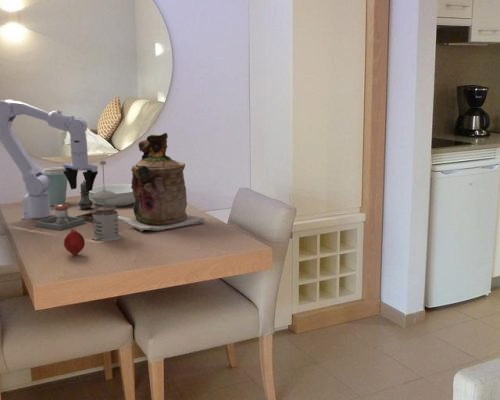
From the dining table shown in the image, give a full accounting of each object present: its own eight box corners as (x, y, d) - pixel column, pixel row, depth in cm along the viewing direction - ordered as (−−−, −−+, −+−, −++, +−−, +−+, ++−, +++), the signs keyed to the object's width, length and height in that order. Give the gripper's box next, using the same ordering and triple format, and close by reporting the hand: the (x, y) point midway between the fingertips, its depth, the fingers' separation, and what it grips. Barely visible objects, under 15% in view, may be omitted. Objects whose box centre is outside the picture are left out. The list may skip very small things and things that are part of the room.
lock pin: (52, 225, 210) (51, 205, 208) (62, 222, 214) (61, 203, 212) (61, 227, 207) (60, 207, 206) (72, 224, 211) (71, 204, 210)
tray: (35, 228, 208) (34, 221, 207) (60, 221, 218) (60, 214, 217) (60, 233, 202) (59, 225, 202) (85, 225, 212) (84, 218, 212)
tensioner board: (67, 221, 218) (67, 210, 218) (93, 213, 230) (92, 203, 229) (95, 225, 212) (94, 214, 211) (120, 217, 224) (119, 207, 223)
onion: (67, 252, 181) (65, 226, 179) (86, 252, 181) (85, 225, 180) (62, 258, 175) (61, 231, 173) (83, 257, 175) (81, 230, 174)
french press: (94, 242, 191) (90, 163, 186) (86, 234, 201) (82, 158, 196) (125, 239, 195) (122, 161, 190) (115, 230, 205) (112, 157, 200)
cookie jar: (174, 211, 234) (172, 127, 228) (207, 224, 215) (206, 133, 208) (113, 220, 220) (109, 131, 214) (143, 234, 201) (140, 137, 194)
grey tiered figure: (89, 213, 231) (87, 181, 229) (75, 212, 232) (73, 181, 230) (96, 209, 237) (94, 179, 234) (82, 209, 238) (80, 178, 235)
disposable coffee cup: (37, 204, 245) (35, 167, 242) (59, 200, 254) (57, 164, 251) (54, 208, 239) (52, 170, 236) (76, 203, 248) (74, 166, 245)
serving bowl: (117, 197, 259) (117, 181, 258) (153, 203, 247) (152, 187, 246) (78, 206, 243) (77, 189, 241) (114, 213, 231) (113, 195, 230)
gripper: (102, 152, 219) (104, 189, 221) (72, 150, 225) (74, 186, 228) (88, 154, 213) (90, 193, 215) (58, 152, 219) (60, 189, 222)
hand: (81, 189), depth 221 cm, fingers open, 7 cm apart
